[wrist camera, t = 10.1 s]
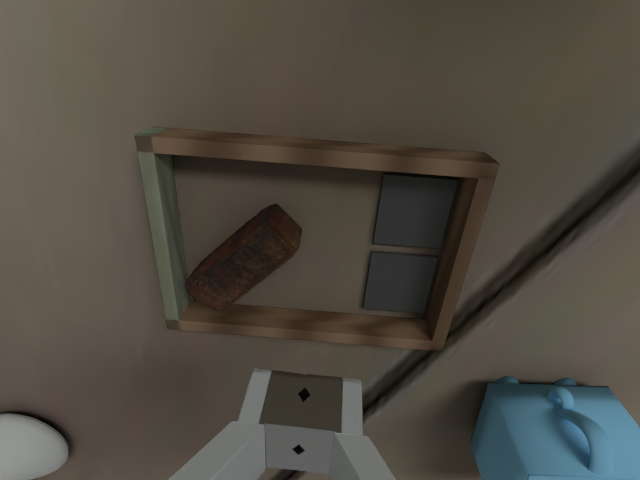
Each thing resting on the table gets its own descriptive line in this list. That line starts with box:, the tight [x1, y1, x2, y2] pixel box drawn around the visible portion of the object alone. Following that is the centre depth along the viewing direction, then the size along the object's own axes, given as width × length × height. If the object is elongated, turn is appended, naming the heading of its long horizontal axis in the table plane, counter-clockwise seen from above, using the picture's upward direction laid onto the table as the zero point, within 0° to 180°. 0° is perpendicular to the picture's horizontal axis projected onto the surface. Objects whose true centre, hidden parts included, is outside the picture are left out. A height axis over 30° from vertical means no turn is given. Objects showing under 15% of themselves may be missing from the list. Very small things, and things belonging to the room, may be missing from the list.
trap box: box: [135, 127, 500, 351], centre depth 32 cm, size 26×18×3 cm
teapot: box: [470, 376, 640, 480], centre depth 37 cm, size 18×16×13 cm
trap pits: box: [363, 173, 458, 313], centre depth 33 cm, size 6×14×1 cm, turn 176°
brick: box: [185, 204, 302, 311], centre depth 32 cm, size 11×4×5 cm, turn 132°
